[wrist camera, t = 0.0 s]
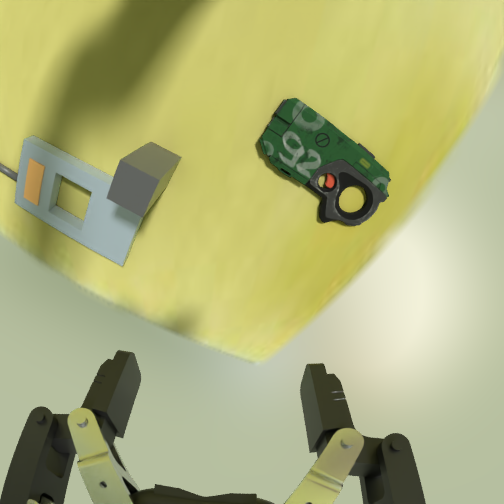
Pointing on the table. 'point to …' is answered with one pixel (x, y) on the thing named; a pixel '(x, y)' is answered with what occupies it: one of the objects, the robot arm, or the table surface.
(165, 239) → the table surface
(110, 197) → the block
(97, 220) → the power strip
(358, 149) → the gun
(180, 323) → the table surface
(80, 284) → the table surface
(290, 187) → the table surface
